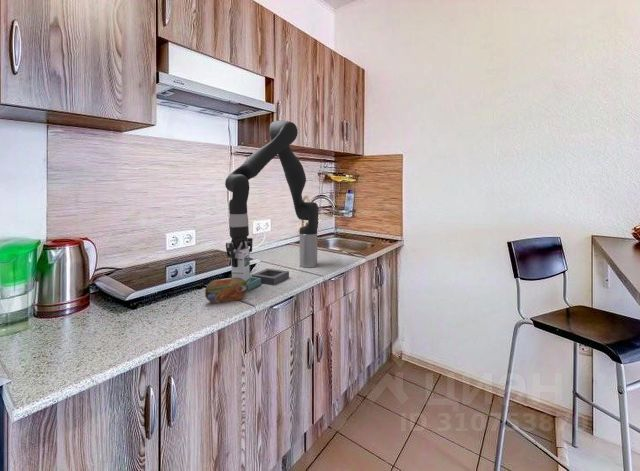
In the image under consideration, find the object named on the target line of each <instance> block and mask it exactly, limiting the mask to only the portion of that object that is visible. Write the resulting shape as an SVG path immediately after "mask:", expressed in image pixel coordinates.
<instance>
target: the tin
mask: <svg viewBox="0 0 640 471" xmlns="http://www.w3.org/2000/svg"><path fill="white" fill-rule="evenodd" d="M247 291H248V285H247V283H246V282H245V281H244V280H243V279H241V278H239V277H234V278H232V277H228V278H222V279H221V278H220V279H214V280H211V281H210V282H209V283H208V284H207V285H206V287H205V290H204V295H205V298H206V300H207V301H209V302H210V303H212V304H222V303H229V302H234V301H235V302H236V301H239V300H242V299H244V298H245V297H246V295H247V294H248V292H249V291H248V292H247Z"/></svg>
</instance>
